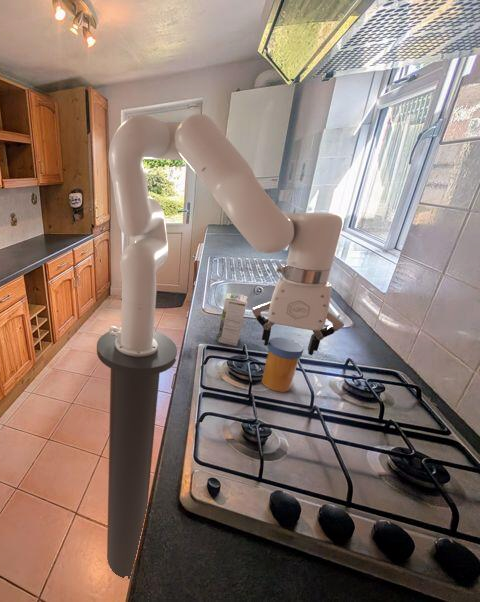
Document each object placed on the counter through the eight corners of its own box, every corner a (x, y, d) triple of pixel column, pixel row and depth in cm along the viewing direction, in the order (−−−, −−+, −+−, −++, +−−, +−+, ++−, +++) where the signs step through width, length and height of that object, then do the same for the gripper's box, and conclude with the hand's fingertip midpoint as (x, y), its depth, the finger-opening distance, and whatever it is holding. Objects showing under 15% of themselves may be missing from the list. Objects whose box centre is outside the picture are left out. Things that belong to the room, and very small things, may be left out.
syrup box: (219, 334, 97) (226, 292, 91) (239, 338, 94) (248, 295, 88) (216, 342, 92) (224, 298, 87) (238, 347, 89) (247, 302, 84)
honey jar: (260, 386, 72) (270, 348, 68) (262, 373, 77) (271, 337, 73) (290, 395, 69) (301, 355, 65) (290, 381, 74) (301, 343, 70)
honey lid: (266, 353, 69) (268, 347, 68) (268, 341, 74) (269, 334, 73) (302, 362, 65) (304, 355, 65) (301, 348, 71) (303, 341, 70)
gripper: (256, 273, 64) (243, 345, 71) (364, 285, 55) (337, 366, 62) (259, 265, 70) (246, 332, 77) (357, 275, 61) (333, 349, 68)
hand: (287, 347), depth 69 cm, fingers open, 8 cm apart
